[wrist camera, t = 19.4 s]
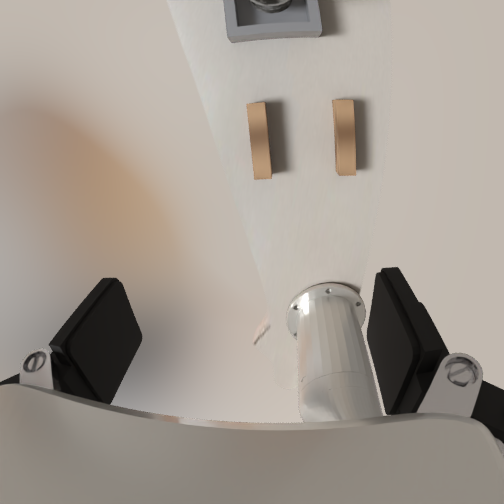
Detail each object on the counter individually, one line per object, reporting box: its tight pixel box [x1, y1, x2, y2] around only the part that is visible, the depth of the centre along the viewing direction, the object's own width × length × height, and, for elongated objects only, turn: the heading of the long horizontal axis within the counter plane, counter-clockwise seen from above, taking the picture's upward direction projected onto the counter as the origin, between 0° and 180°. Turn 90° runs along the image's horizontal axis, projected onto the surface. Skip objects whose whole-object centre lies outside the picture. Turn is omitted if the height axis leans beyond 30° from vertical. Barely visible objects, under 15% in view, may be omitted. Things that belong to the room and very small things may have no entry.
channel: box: [247, 100, 356, 180], centre depth 32 cm, size 9×12×2 cm
